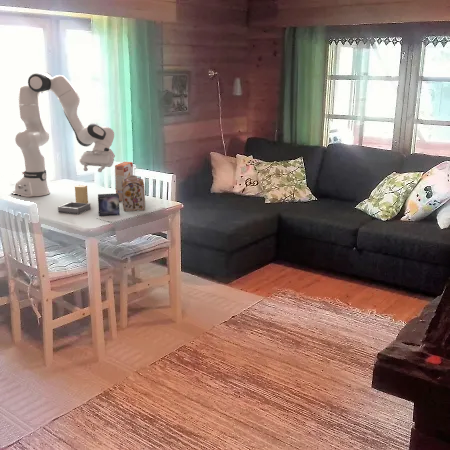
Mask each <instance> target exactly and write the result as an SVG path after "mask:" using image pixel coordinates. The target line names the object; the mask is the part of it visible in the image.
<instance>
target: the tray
mask: <svg viewBox="0 0 450 450" xmlns="http://www.w3.org/2000/svg"><path fill="white" fill-rule="evenodd" d="M89 210H91V203H89V202H88V203H78V202H76V201H69V202H67V203H64V204H61V205H59V206H57V211H58V213H61V214H69V215H70V214H71V215H81V214H82V213H84V212H88V211H89Z"/></svg>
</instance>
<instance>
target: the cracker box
mask: <svg viewBox="0 0 450 450" xmlns="http://www.w3.org/2000/svg"><path fill="white" fill-rule="evenodd" d="M114 173H115V175H114V176H115V177H114V178H115V194H117V193H118V195H119V202H122V180H123V179H126V178H128V176H131V175H134V162H132V161H123V162H120V163H117V164H116V165H114Z"/></svg>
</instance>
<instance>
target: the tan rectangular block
mask: <svg viewBox="0 0 450 450" xmlns="http://www.w3.org/2000/svg"><path fill="white" fill-rule="evenodd" d="M74 194H75V195H74V196H75V202H78V203H88V204H89V197H88V195H89V194H88V185H83V184H82V185H81V184H79V185H76V186H74Z"/></svg>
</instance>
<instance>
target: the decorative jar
mask: <svg viewBox="0 0 450 450" xmlns="http://www.w3.org/2000/svg"><path fill="white" fill-rule="evenodd" d="M121 202H122V209H123V211H124V212H137V210H139V211H146V193H145V183H144V179H143V178H140V177H138V175H134V174H133V175H131V176H128V178H126V179H123V180H122V201H121Z"/></svg>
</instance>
